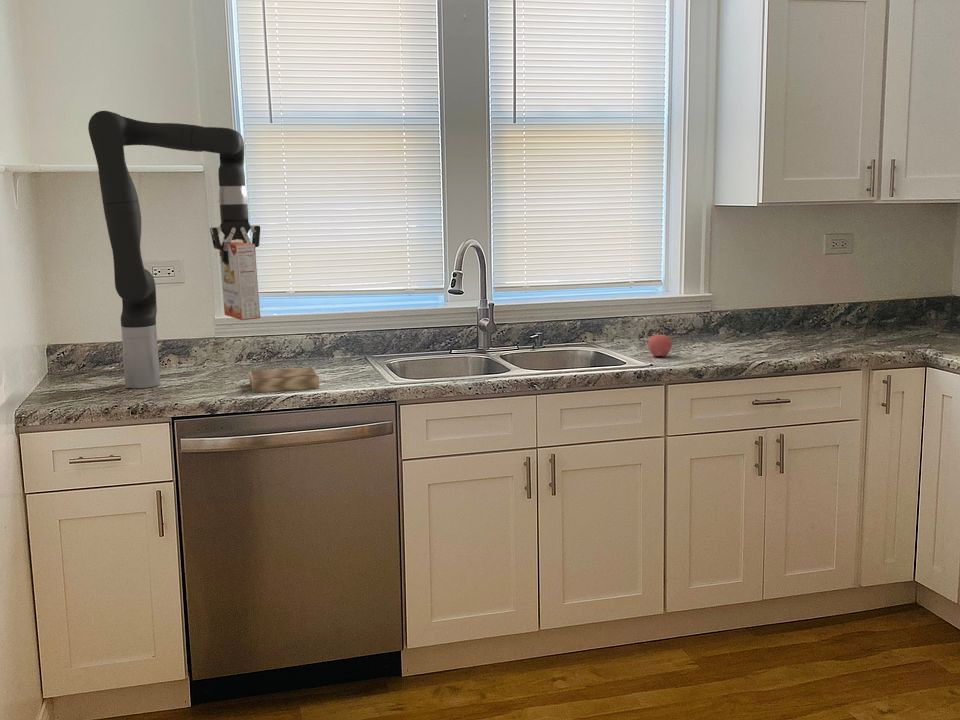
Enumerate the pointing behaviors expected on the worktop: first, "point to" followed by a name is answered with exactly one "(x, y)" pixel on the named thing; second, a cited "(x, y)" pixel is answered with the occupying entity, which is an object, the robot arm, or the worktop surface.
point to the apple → (659, 345)
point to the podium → (284, 379)
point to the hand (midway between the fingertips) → (237, 263)
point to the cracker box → (240, 282)
